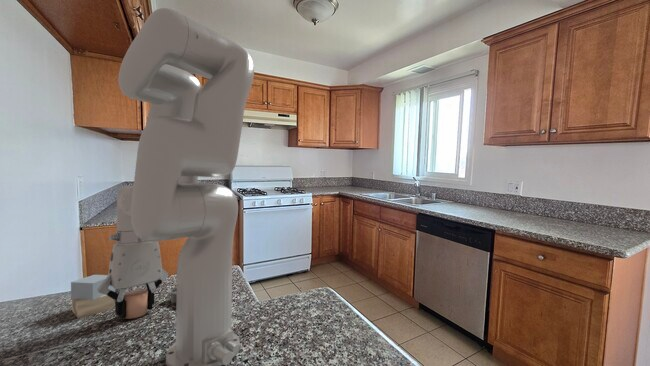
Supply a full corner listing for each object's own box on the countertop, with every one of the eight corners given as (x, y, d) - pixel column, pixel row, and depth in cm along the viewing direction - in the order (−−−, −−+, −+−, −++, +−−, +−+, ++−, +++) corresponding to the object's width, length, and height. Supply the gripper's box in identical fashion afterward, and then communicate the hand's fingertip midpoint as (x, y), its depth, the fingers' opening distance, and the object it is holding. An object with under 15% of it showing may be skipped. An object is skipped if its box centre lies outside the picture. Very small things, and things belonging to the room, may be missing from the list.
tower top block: (114, 290, 73) (114, 275, 73) (92, 300, 67) (92, 283, 67) (94, 289, 74) (94, 274, 74) (70, 298, 68) (71, 282, 68)
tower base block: (114, 309, 71) (114, 293, 71) (77, 319, 65) (78, 302, 66) (106, 302, 75) (106, 287, 75) (71, 311, 70) (71, 295, 70)
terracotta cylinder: (151, 312, 68) (151, 292, 68) (127, 320, 64) (127, 298, 64) (142, 307, 71) (143, 287, 71) (119, 314, 67) (119, 293, 67)
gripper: (96, 244, 58) (95, 331, 58) (179, 233, 72) (178, 304, 72) (86, 240, 63) (85, 321, 63) (166, 231, 77) (165, 297, 76)
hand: (135, 311), depth 67 cm, fingers closed on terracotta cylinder, 4 cm apart
